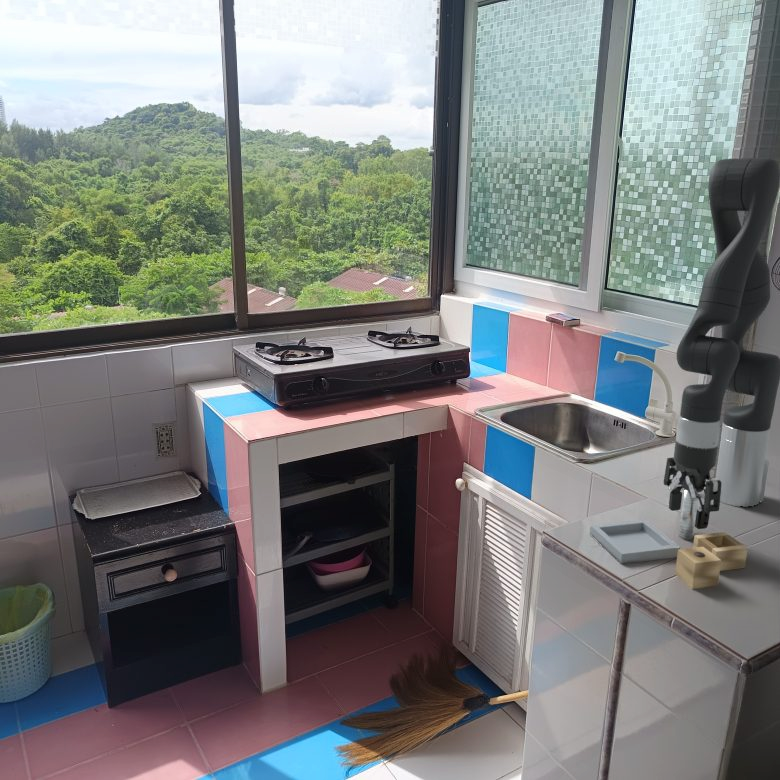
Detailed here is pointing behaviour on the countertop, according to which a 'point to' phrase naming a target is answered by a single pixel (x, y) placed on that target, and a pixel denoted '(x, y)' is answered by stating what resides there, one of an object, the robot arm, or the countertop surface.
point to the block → (698, 567)
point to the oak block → (723, 549)
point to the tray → (634, 541)
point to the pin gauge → (687, 516)
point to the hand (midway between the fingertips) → (687, 518)
